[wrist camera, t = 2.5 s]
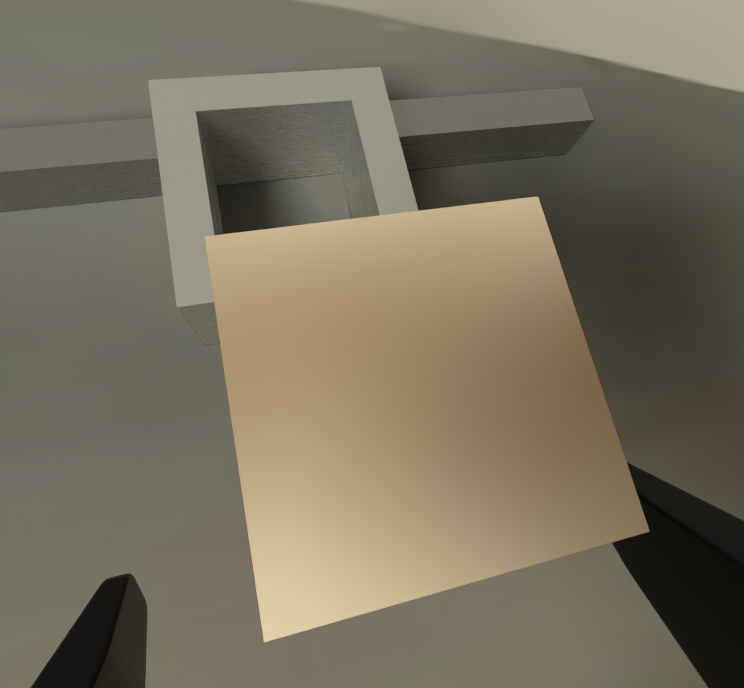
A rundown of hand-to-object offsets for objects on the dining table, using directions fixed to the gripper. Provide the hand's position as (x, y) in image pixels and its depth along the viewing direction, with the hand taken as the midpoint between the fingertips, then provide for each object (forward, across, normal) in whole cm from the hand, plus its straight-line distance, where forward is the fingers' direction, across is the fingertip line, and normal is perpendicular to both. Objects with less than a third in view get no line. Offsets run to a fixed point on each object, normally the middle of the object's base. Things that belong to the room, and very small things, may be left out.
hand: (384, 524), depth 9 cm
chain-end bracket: (+14, 0, -1) cm, 14 cm away
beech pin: (+8, 0, +5) cm, 9 cm away
